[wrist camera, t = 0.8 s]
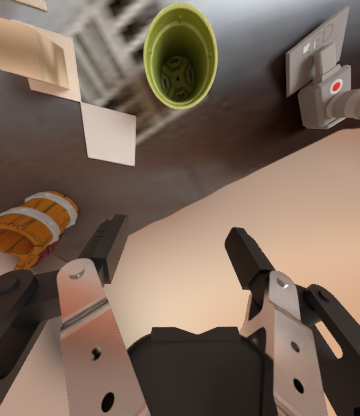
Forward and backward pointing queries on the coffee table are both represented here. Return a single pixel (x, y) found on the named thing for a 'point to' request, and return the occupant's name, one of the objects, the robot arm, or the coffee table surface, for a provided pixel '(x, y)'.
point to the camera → (322, 75)
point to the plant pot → (180, 55)
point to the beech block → (31, 54)
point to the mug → (36, 227)
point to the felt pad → (109, 134)
